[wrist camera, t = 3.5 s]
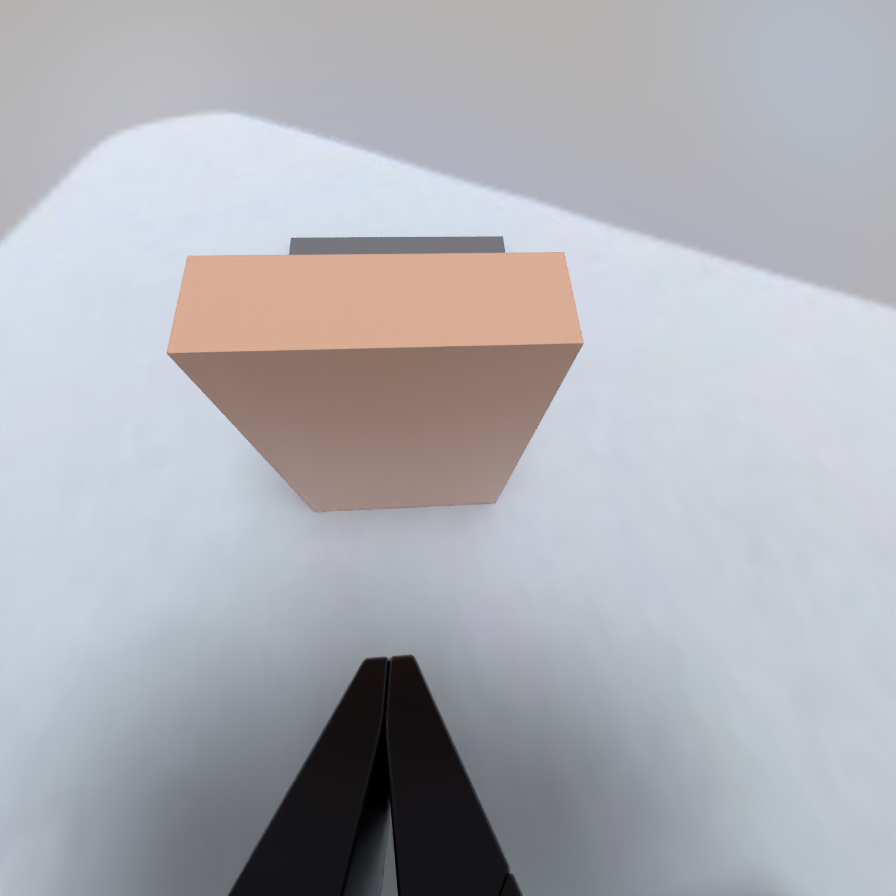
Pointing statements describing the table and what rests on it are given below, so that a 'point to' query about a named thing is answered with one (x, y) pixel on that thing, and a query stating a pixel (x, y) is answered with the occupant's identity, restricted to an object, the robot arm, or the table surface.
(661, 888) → the table surface
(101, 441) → the table surface
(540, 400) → the block
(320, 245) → the mat
